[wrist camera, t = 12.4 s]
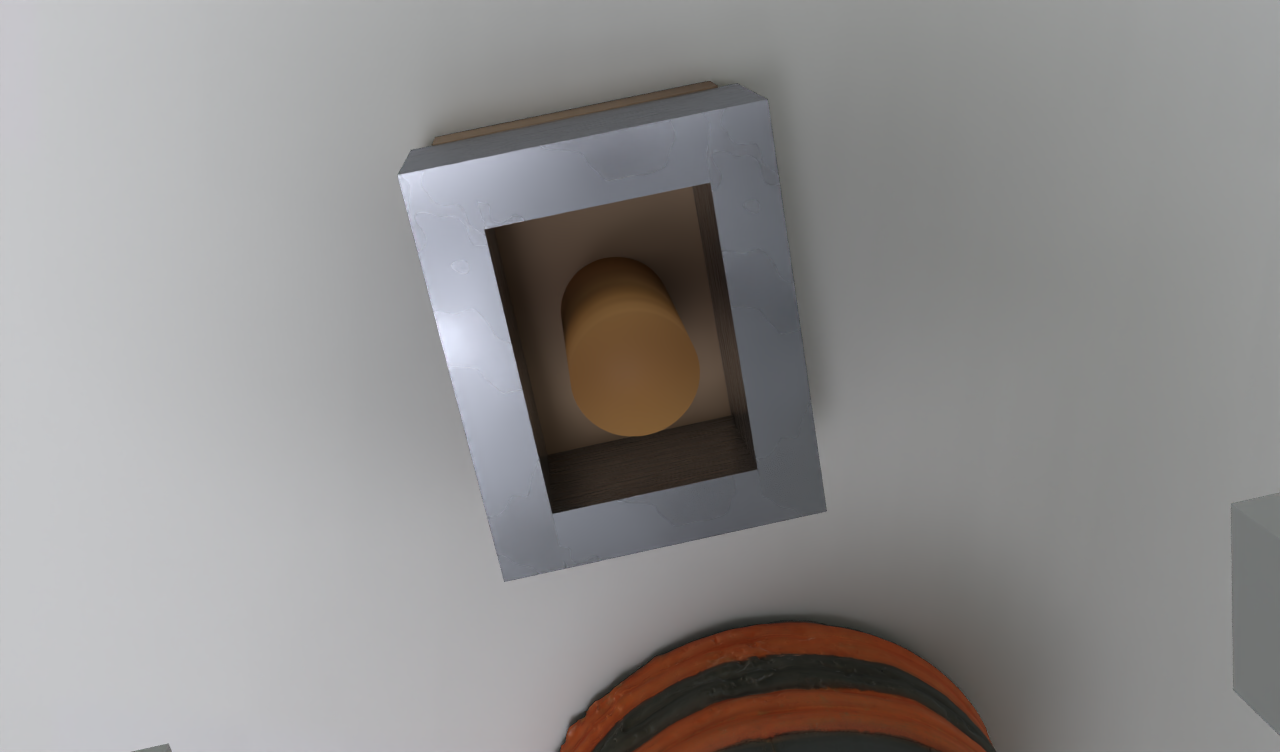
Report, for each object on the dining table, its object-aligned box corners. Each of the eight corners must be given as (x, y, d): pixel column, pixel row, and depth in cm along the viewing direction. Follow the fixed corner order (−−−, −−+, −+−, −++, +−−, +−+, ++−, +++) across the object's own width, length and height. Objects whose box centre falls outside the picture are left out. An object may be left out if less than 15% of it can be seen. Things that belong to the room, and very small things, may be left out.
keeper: (767, 438, 32) (824, 542, 26) (523, 491, 32) (526, 608, 26) (709, 80, 29) (759, 110, 23) (435, 137, 28) (415, 181, 23)
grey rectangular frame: (793, 453, 31) (826, 511, 28) (504, 516, 31) (503, 581, 28) (736, 83, 28) (767, 99, 24) (411, 149, 27) (397, 175, 24)
